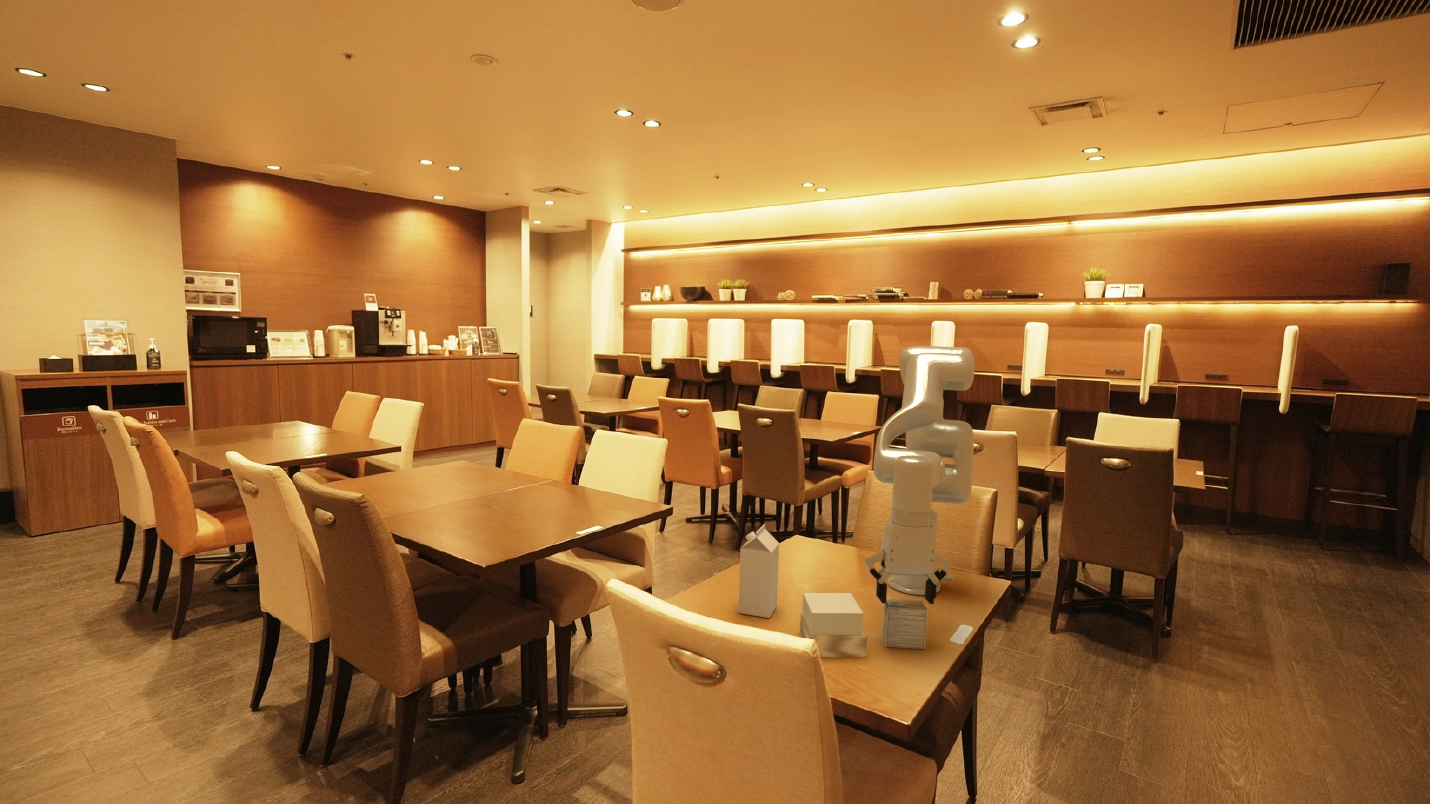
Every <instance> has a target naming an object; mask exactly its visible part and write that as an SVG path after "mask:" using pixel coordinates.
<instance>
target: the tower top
mask: <svg viewBox="0 0 1430 804" xmlns="http://www.w3.org/2000/svg"><path fill="white" fill-rule="evenodd" d="M802 613H803V616H804V619H805V621H806V624H807V626H808V628H809V631H810V633H811V635H862V630H863V631H864V629H863V627H864V622H863V621H864V612H863V610H862V609H861V607H860V606H859V604H858V602H857V601H856V599H855V598H854V596H853V594H852V593H851V592H803V594H802Z"/></svg>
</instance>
